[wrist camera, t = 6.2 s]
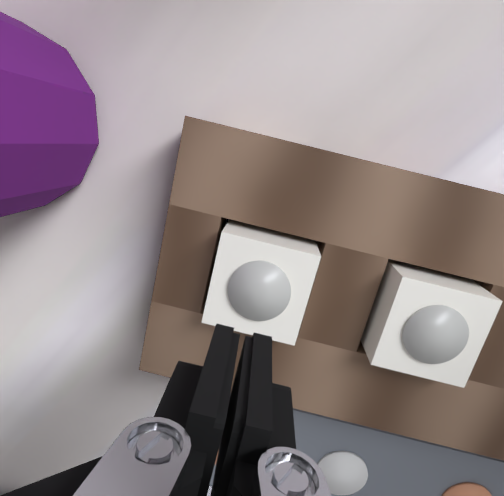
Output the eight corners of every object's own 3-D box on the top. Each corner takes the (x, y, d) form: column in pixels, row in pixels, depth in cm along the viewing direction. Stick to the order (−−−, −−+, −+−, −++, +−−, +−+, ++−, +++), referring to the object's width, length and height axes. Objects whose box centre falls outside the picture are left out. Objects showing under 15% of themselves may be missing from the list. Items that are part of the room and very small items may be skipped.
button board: (693, 242, 20) (764, 259, 17) (578, 446, 23) (620, 489, 20) (198, 120, 20) (184, 115, 17) (156, 342, 23) (138, 369, 21)
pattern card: (516, 461, 24) (521, 469, 23) (472, 545, 26) (476, 554, 25) (198, 382, 24) (196, 388, 23) (177, 472, 26) (175, 479, 25)
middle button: (469, 278, 20) (504, 302, 17) (438, 354, 21) (465, 389, 18) (384, 257, 20) (403, 277, 17) (358, 334, 21) (371, 366, 18)
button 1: (314, 240, 20) (321, 257, 17) (292, 317, 21) (294, 347, 18) (230, 218, 20) (221, 232, 17) (212, 297, 21) (200, 324, 18)
